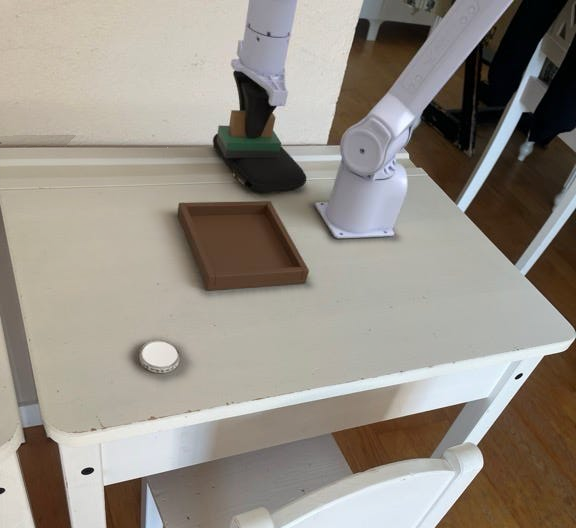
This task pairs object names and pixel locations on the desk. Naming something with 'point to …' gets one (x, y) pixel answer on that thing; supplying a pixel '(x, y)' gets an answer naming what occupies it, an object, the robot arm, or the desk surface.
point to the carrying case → (266, 172)
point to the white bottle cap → (159, 356)
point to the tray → (241, 245)
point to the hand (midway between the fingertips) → (250, 131)
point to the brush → (247, 139)
